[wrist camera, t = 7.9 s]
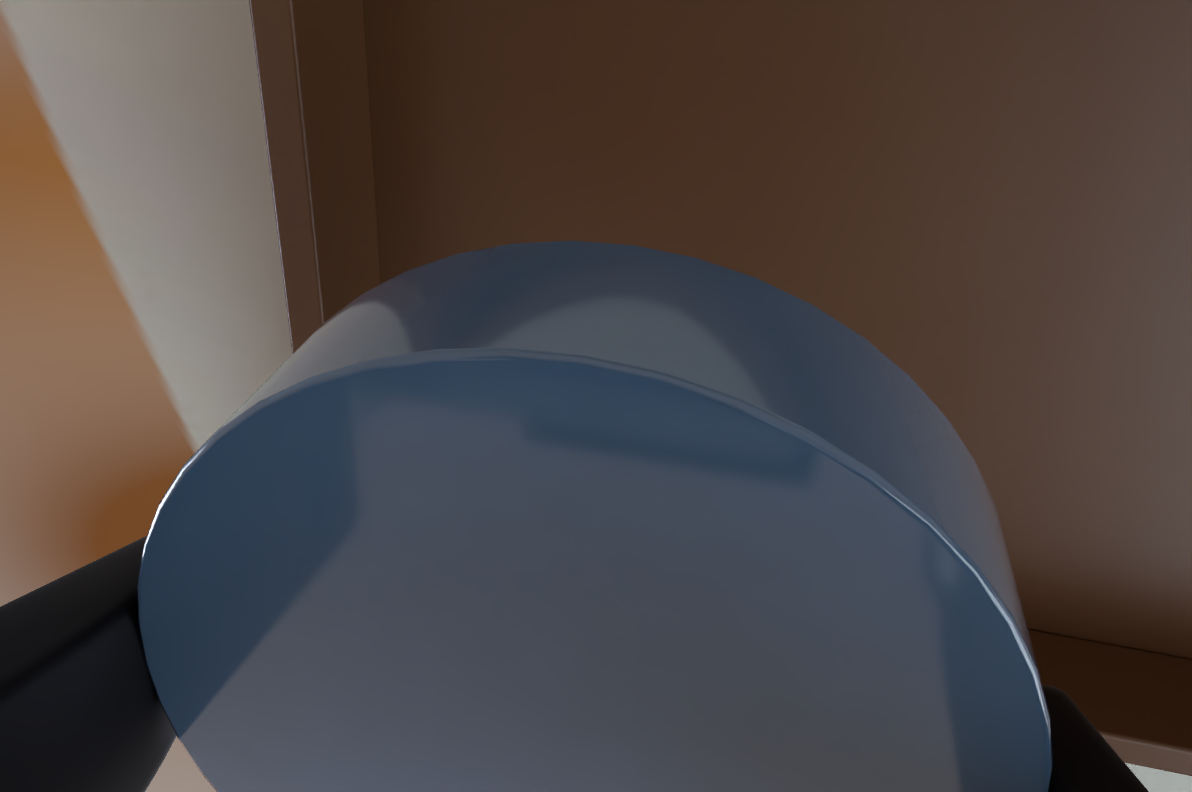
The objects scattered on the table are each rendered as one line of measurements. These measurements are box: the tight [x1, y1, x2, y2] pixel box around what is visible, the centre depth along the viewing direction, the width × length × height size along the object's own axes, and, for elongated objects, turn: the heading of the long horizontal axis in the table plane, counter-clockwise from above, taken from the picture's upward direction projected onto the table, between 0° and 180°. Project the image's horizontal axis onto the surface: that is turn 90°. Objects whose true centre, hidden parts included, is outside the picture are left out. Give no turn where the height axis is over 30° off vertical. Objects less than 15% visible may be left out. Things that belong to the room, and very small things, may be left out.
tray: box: [249, 0, 1192, 776], centre depth 14 cm, size 20×13×3 cm, turn 86°
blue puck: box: [137, 241, 1053, 792], centre depth 8 cm, size 7×7×2 cm
